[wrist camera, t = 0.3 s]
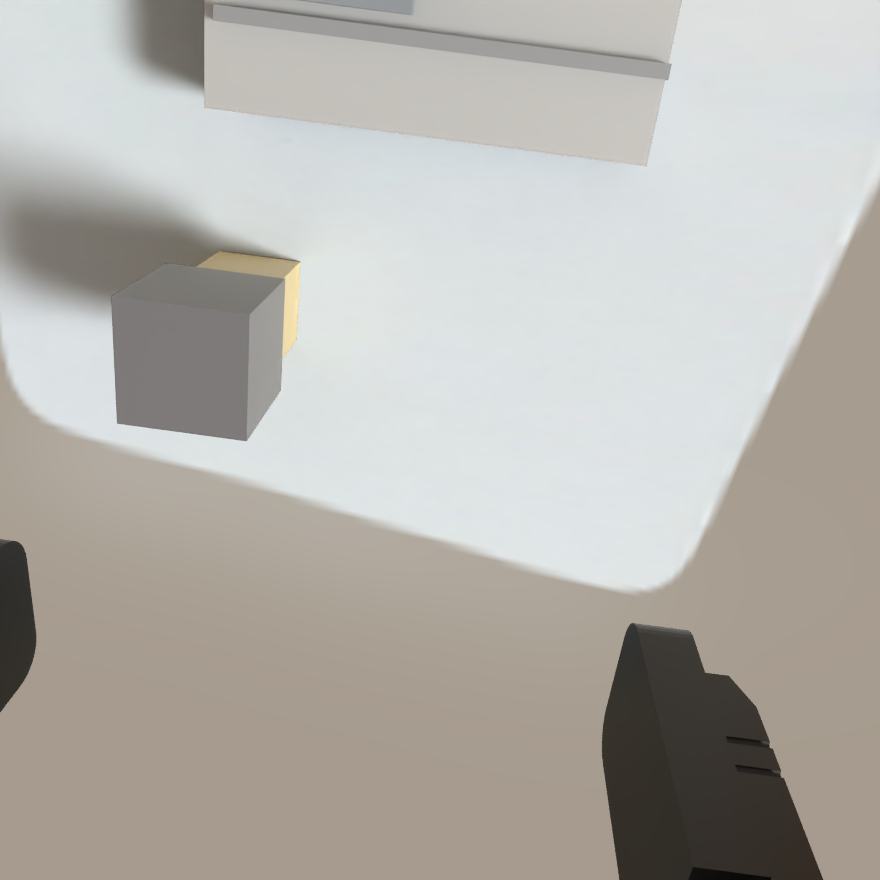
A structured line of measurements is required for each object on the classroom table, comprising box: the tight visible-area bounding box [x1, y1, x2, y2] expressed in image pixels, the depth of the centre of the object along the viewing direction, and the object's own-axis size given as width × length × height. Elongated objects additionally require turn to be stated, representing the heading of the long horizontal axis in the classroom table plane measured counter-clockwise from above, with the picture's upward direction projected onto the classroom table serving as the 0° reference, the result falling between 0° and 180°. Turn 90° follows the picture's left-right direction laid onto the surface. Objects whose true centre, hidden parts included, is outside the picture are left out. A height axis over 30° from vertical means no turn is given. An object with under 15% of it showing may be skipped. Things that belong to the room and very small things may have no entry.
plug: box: [111, 251, 300, 441], centre depth 33 cm, size 5×5×10 cm
